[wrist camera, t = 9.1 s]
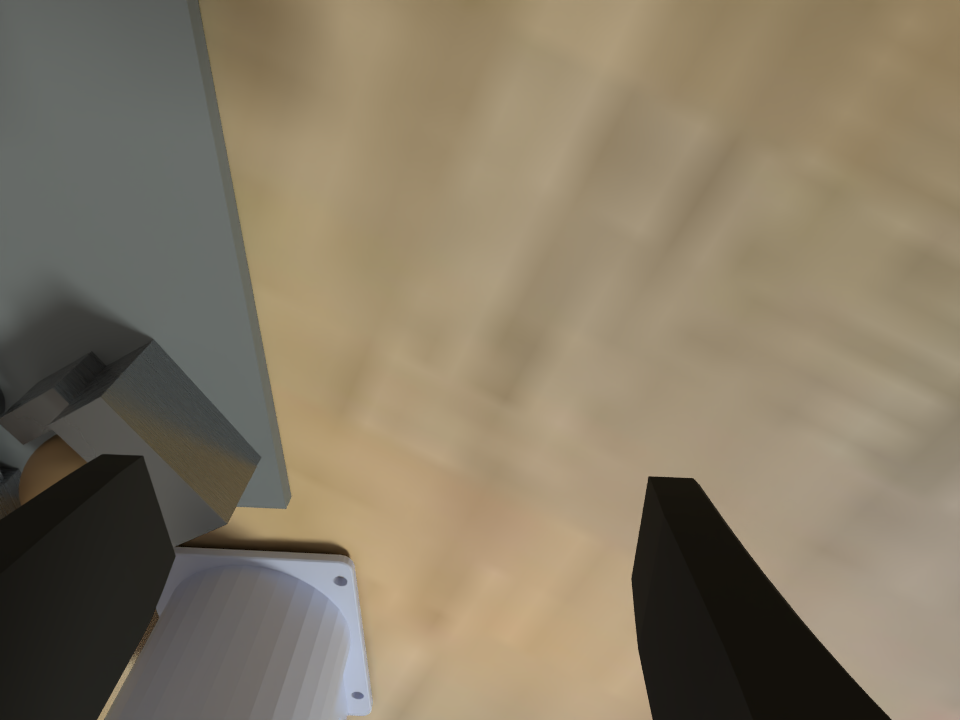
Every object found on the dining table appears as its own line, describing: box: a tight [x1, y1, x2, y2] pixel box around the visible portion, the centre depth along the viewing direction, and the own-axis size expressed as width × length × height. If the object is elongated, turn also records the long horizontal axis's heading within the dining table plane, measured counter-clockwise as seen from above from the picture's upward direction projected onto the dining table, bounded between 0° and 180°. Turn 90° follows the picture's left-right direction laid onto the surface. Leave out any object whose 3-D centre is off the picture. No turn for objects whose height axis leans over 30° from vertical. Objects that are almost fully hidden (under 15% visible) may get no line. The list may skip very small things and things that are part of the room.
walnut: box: [19, 434, 87, 506], centre depth 21 cm, size 4×4×4 cm
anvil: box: [0, 340, 261, 547], centre depth 21 cm, size 6×4×3 cm
